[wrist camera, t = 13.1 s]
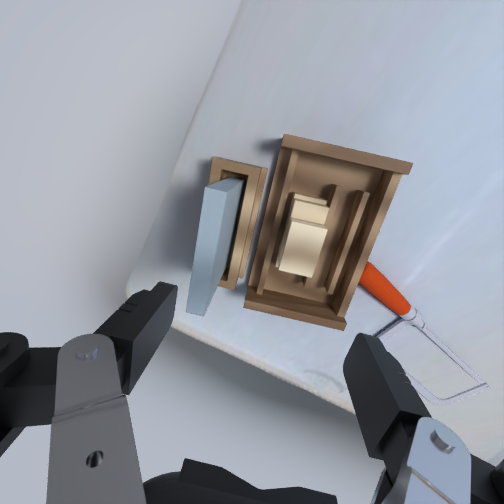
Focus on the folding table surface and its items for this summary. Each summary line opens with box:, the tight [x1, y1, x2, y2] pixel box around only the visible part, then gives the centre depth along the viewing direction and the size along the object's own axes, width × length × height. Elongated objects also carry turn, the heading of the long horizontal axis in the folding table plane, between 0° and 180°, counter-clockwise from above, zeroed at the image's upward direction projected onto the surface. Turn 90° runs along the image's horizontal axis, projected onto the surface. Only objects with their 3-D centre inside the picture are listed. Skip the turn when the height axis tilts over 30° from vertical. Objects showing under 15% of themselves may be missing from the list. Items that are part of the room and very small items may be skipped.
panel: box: [186, 176, 246, 316], centre depth 29 cm, size 12×2×14 cm, turn 168°
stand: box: [208, 157, 268, 290], centre depth 34 cm, size 16×7×5 cm, turn 168°
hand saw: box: [359, 261, 490, 405], centre depth 41 cm, size 33×3×10 cm
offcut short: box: [278, 217, 328, 278], centre depth 30 cm, size 6×4×2 cm, turn 168°
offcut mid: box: [278, 198, 329, 263], centre depth 32 cm, size 8×4×2 cm, turn 168°
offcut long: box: [275, 192, 327, 267], centre depth 34 cm, size 10×4×2 cm, turn 168°
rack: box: [243, 134, 413, 331], centre depth 34 cm, size 22×14×6 cm, turn 168°
